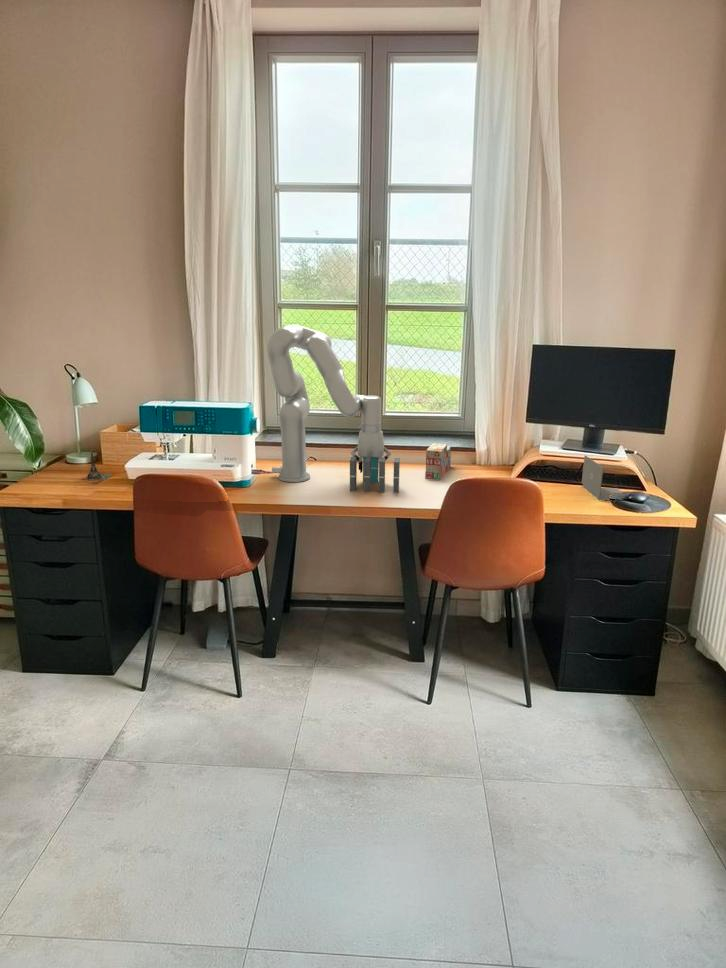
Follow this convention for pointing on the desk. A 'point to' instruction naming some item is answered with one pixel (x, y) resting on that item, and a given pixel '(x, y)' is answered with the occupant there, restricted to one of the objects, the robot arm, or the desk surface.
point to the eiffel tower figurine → (96, 472)
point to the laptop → (595, 480)
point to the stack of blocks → (437, 461)
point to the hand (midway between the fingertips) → (370, 471)
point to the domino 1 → (353, 473)
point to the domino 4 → (396, 475)
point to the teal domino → (373, 469)
